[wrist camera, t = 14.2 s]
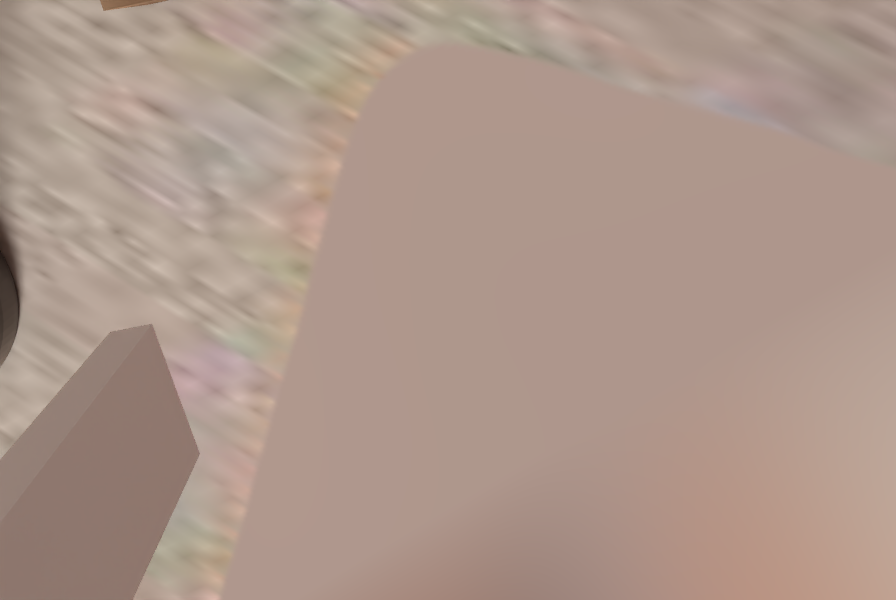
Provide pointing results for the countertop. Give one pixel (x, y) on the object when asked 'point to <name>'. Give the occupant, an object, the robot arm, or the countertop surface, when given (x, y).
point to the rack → (125, 3)
